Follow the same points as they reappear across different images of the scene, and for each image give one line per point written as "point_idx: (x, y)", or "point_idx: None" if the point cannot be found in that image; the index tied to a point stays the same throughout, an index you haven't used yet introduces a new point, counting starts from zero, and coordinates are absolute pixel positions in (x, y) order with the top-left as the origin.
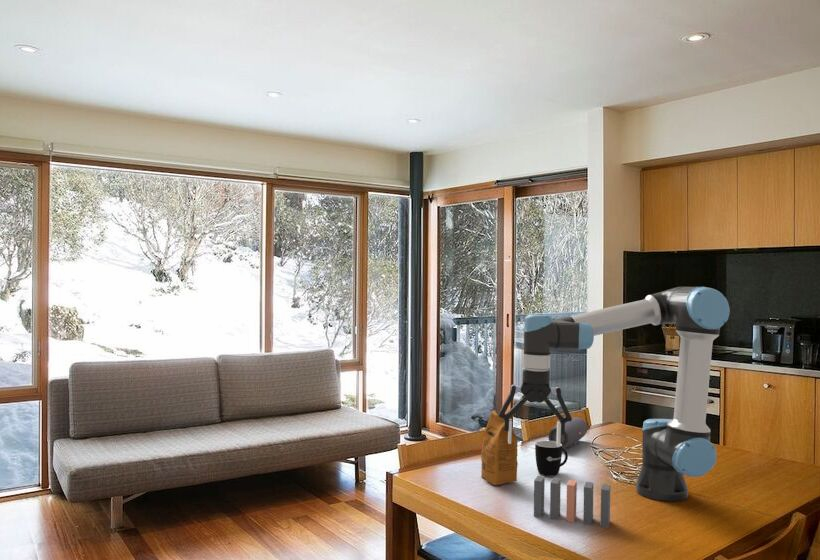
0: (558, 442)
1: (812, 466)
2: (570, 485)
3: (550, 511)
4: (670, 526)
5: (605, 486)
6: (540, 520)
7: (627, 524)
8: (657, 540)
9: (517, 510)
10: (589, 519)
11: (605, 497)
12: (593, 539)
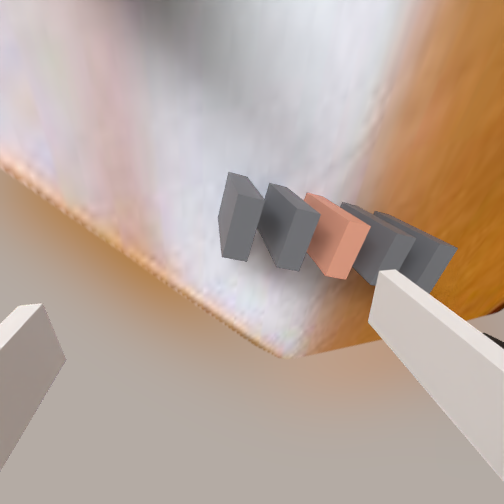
0: (387, 340)
1: None
2: (335, 276)
3: (260, 231)
4: (495, 221)
5: (435, 266)
6: None
7: (417, 226)
8: (431, 290)
9: (173, 181)
10: None
11: None
12: (323, 309)
